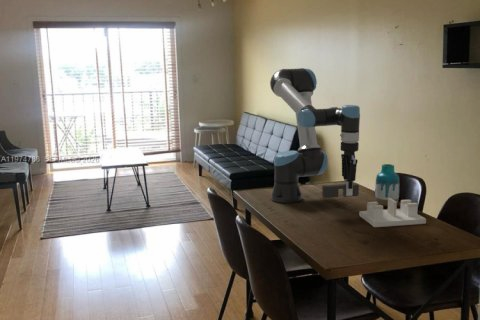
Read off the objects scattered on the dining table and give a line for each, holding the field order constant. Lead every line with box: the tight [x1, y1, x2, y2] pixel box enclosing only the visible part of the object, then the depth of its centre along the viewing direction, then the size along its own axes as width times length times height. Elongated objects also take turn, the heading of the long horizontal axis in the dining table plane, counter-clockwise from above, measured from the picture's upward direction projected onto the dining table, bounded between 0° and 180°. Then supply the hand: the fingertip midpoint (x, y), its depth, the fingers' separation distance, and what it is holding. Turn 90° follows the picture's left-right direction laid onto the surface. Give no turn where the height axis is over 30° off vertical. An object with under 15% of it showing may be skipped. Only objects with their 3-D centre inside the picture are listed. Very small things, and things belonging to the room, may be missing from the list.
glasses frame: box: [321, 183, 360, 199], centre depth 217 cm, size 2×16×5 cm, turn 98°
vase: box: [374, 163, 400, 207], centre depth 228 cm, size 11×11×19 cm
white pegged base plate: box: [358, 198, 427, 228], centre depth 209 cm, size 16×22×8 cm
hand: (347, 194), depth 218 cm, fingers closed on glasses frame, 2 cm apart
